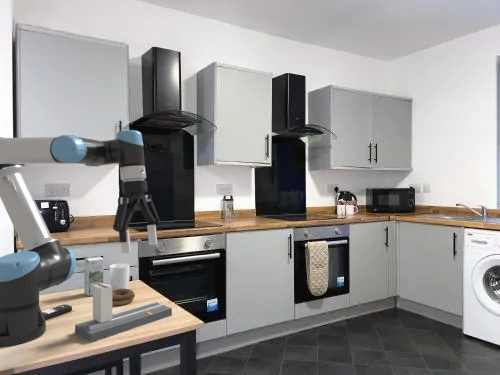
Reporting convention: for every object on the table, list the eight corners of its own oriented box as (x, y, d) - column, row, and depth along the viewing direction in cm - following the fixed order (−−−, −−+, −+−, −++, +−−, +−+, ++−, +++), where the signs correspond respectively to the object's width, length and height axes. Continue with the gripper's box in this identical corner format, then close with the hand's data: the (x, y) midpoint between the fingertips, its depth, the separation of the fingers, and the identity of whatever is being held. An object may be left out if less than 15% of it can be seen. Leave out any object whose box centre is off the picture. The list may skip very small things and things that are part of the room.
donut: (124, 295, 146) (124, 285, 146) (140, 301, 140) (140, 290, 140) (99, 302, 138) (99, 292, 138) (115, 308, 131) (115, 297, 131)
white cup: (123, 292, 149) (123, 268, 149) (105, 291, 151) (105, 267, 151) (133, 287, 157) (133, 263, 157) (116, 286, 159) (116, 262, 158)
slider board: (74, 332, 110) (74, 321, 110) (154, 308, 131) (154, 299, 131) (91, 342, 104) (91, 330, 104) (171, 315, 125) (171, 305, 125)
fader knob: (92, 321, 112) (92, 285, 111) (103, 318, 114) (103, 282, 114) (101, 326, 108) (101, 288, 108) (112, 322, 111) (112, 285, 111)
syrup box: (99, 290, 152) (99, 255, 151) (103, 294, 147) (103, 258, 147) (84, 293, 148) (84, 257, 148) (88, 297, 143) (88, 259, 143)
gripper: (117, 180, 102) (124, 256, 102) (166, 179, 125) (172, 241, 125) (95, 182, 104) (102, 257, 104) (147, 181, 128) (153, 242, 128)
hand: (140, 248), depth 115 cm, fingers open, 13 cm apart
